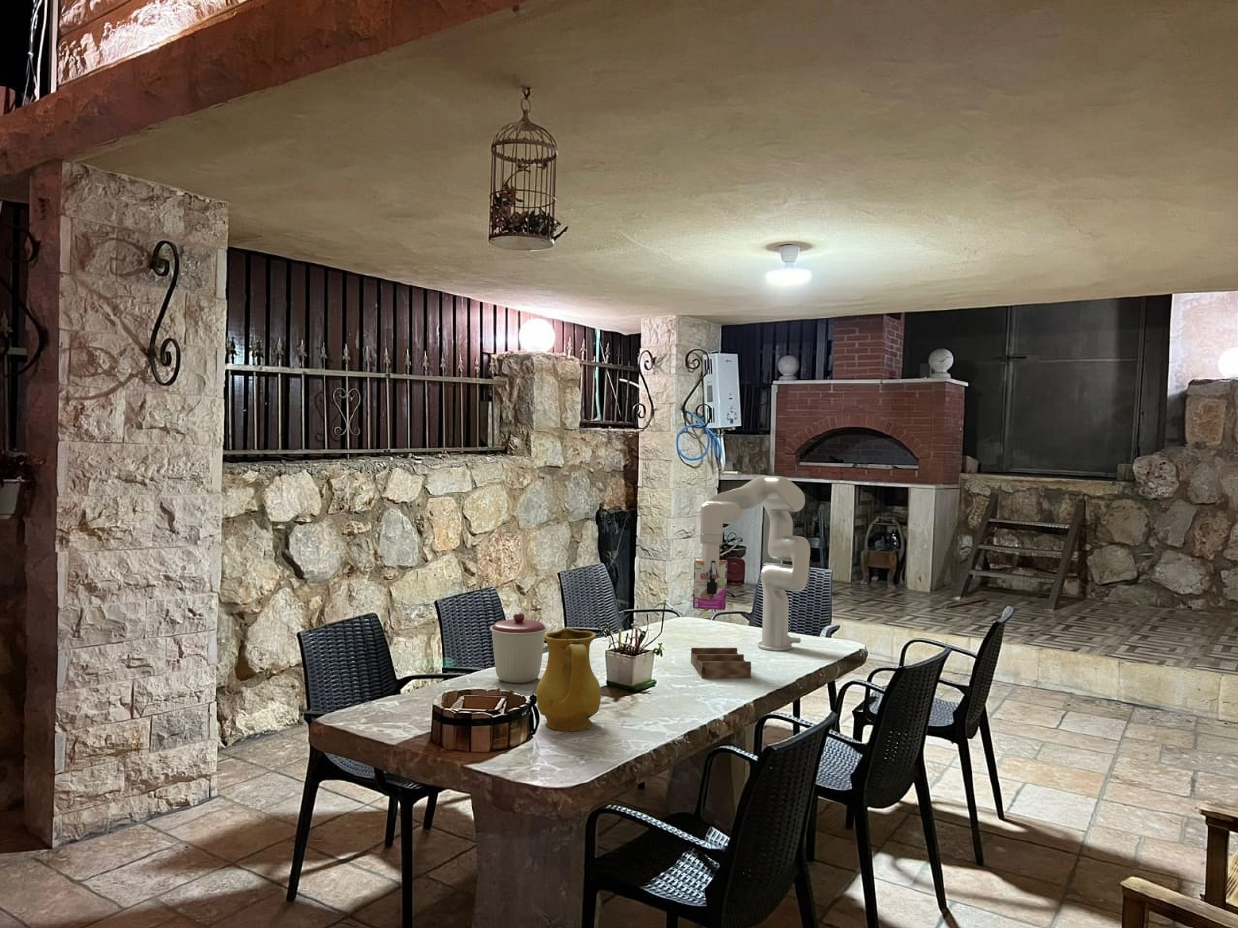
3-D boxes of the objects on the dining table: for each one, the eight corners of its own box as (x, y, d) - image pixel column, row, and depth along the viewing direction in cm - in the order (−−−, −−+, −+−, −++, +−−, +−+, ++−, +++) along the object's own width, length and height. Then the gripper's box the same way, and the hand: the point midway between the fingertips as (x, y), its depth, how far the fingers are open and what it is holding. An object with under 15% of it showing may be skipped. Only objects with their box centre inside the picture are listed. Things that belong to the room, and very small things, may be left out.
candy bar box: (692, 608, 298) (693, 560, 297) (693, 606, 303) (694, 558, 302) (726, 610, 296) (727, 561, 296) (726, 607, 301) (727, 559, 301)
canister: (512, 669, 292) (513, 605, 291) (557, 677, 283) (558, 611, 282) (477, 681, 276) (478, 613, 276) (524, 690, 267) (525, 620, 267)
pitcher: (608, 715, 242) (606, 625, 240) (591, 740, 223) (588, 643, 222) (548, 712, 245) (546, 623, 244) (526, 736, 227) (523, 640, 226)
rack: (736, 662, 307) (736, 647, 307) (750, 678, 287) (751, 662, 286) (690, 662, 306) (691, 647, 306) (702, 678, 285) (702, 662, 285)
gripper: (696, 536, 307) (695, 588, 308) (704, 541, 290) (703, 596, 290) (717, 536, 308) (716, 588, 308) (726, 542, 291) (725, 596, 291)
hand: (710, 592), depth 299 cm, fingers closed on candy bar box, 5 cm apart
